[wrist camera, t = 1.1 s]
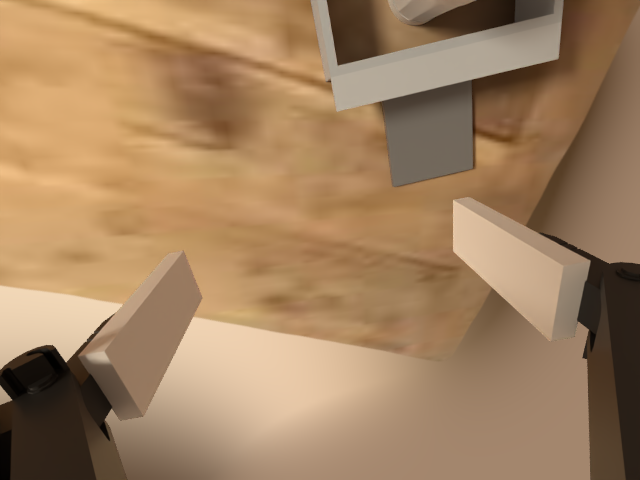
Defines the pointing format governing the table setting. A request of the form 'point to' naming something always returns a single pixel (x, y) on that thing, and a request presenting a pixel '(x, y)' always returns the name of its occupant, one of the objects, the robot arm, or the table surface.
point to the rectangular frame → (442, 56)
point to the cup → (422, 9)
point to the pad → (429, 133)
